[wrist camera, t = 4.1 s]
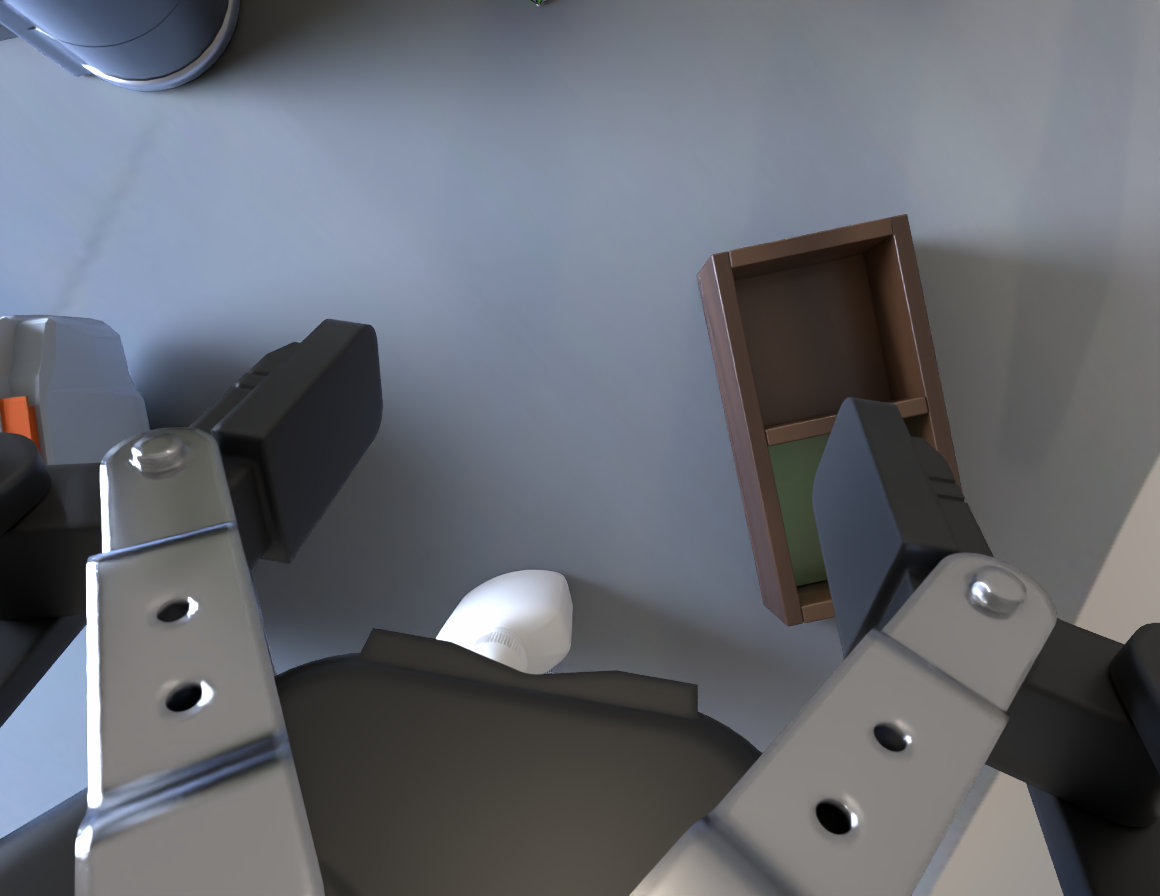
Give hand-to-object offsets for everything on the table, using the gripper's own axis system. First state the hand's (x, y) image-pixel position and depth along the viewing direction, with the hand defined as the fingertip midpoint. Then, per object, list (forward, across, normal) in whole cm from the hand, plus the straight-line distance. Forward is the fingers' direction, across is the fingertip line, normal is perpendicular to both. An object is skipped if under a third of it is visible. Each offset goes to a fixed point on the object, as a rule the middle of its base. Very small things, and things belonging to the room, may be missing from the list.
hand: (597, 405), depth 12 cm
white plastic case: (+15, +24, +18) cm, 34 cm away
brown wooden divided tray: (+21, -10, +12) cm, 27 cm away
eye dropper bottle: (+14, +4, +22) cm, 26 cm away
